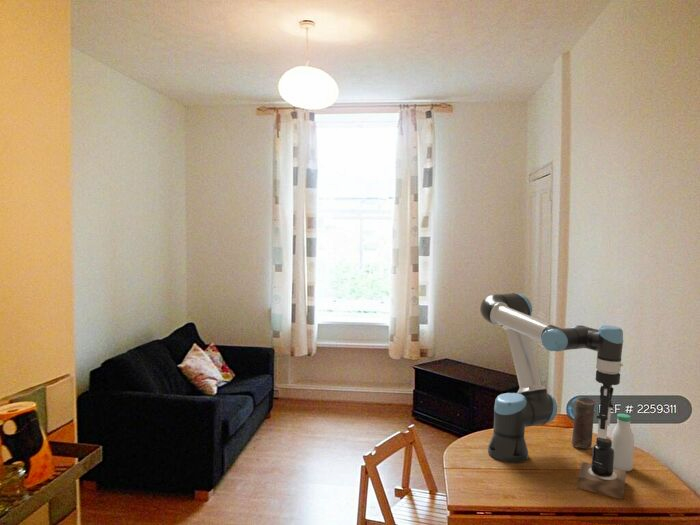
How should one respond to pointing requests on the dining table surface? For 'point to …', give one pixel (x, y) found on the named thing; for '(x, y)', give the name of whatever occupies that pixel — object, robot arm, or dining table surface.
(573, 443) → the brown cylinder
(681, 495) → the dining table surface
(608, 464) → the supplement bottle
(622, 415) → the milk bottle
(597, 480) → the walnut plinth
